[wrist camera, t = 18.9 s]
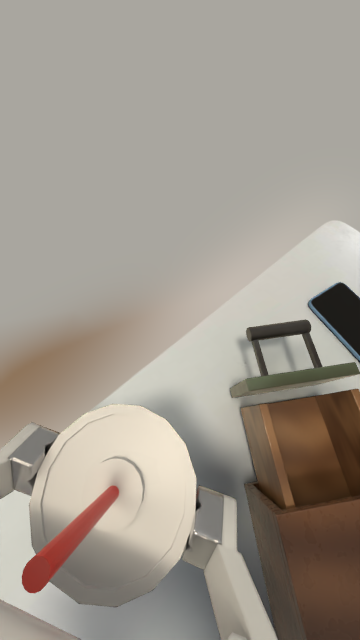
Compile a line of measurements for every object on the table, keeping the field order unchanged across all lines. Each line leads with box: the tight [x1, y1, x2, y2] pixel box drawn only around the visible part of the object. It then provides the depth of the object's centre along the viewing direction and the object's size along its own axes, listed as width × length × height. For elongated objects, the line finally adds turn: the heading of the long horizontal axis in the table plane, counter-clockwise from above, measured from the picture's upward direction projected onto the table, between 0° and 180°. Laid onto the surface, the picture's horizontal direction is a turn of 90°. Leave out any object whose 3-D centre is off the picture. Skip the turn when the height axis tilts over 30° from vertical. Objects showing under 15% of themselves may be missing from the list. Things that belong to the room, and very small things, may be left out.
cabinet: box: [244, 482, 360, 640], centre depth 20 cm, size 15×13×10 cm
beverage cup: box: [22, 404, 196, 607], centre depth 10 cm, size 6×6×14 cm
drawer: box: [230, 320, 360, 510], centre depth 25 cm, size 19×11×8 cm, turn 8°
